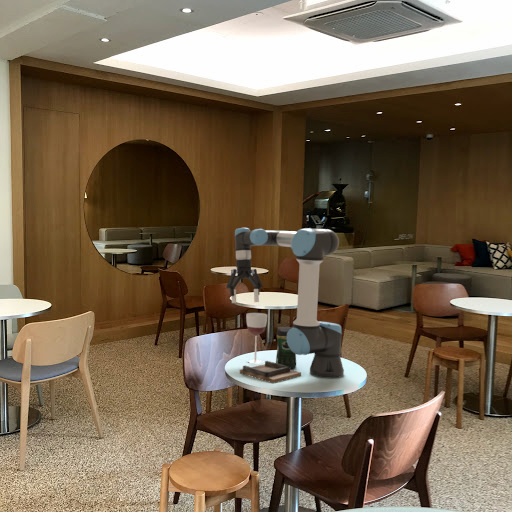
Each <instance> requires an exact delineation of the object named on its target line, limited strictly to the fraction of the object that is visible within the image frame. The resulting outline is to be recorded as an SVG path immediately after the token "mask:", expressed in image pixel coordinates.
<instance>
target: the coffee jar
mask: <svg viewBox="0 0 512 512" xmlns="http://www.w3.org/2000/svg"><path fill="white" fill-rule="evenodd" d="M292 328H293V326H291V327H290V326H283V327H281V326H280V327H277V330H276V331H277V332H276V340H277V346H276V347H277V349H276V355H275V356H276V357H275V363H277V364H281V365H285V366H289V367H290V369H294V368H296V367H297V354H295V353H293V352H292V351H291V349H290V348H289V346H288V343H287V333H288V332H289V330H290V329H292Z"/></svg>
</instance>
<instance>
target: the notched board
mask: <svg viewBox="0 0 512 512" xmlns="http://www.w3.org/2000/svg"><path fill="white" fill-rule="evenodd" d="M241 373H243V374H242V375H244V374H246V375H245V376H248V375H250V376H249V377H251V376H253V377H252V378H255V377H256V378H255V379H258V378H260V379H259V380H261V379H263V380H262V381H265V380H266V381H265V382H268V381H270V382H269V383H271V382H273V383H272V384H274V382H275V383H278V381H279V382H282V380H283V381H286V379H287V380H291V379H294V378H293V377H295V378H298V377H297V376H299V377H301V376H302V372H300V371H297V370H293V369H291V368H290V367H289V366H285V365H281V364H277V363H276V362H273V361H271V360H270V361H268V360H265V361H264V363H263V364H258V365H256V366H250V365H249V366H248V365H242V368H241V369H239V374H241ZM290 378H291V379H290Z"/></svg>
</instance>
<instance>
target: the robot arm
mask: <svg viewBox="0 0 512 512" xmlns="http://www.w3.org/2000/svg"><path fill="white" fill-rule="evenodd" d="M234 244H235V246H234V247H235V259H236V261H235V266H236V268H232V269H231V273H230V276H229V277H228V278H229V280H228V281H227V284H226V289H228V290H229V292H230V293H229V294H230V297H231V304H236V303H237V289H236V287H237V286H238V284H239V282H240V280H242V279H247V280H248V281H249V282H250V283H251V285H252V286H253V287H254V289H253V299H254V300H253V301H254V302H253V303H259V302H260V297H259V296H260V289H261V288H263V287H264V286H263V283H262V282H261V280H260V277H259V275H258V272H257V271H258V270H257V269H256V268H254V269H252V251H251V250H252V247H255V246H267V247H269V246H273V247H274V246H275V247H286V248H291V251H292V253H293V254H294V255H295V256H296V257H295V260H296V261H297V262H298V264H299V266H298V267H299V268H298V269H299V270H298V289H297V290H298V291H297V307H296V308H297V309H296V319H295V320H294V321H293V322H292V327H293V328H292V329H290V330H289V332H288V333H287V343H288V346H289V348H290V349H291V351H292V352H293V353H295V354H296V356H297V355H298V356H307V355H309V354H311V355H312V354H314V355H313V359H312V361H311V364H310V367H309V374H310V375H312V376H314V377H319V378H325V379H336V378H341V377H343V376H344V374H345V373H344V372H345V371H344V367H343V362H342V359H341V358H342V357H341V354H342V352H341V351H342V335H343V333H342V326H341V324H339V323H333V322H329V321H320V320H319V321H318V319H317V318H318V300H319V284H320V283H319V281H320V265H321V264H322V263H323V262H324V256H327V257H328V256H331V255H332V254H334V253H335V252H336V251H337V250H338V248H339V244H340V239H339V236H338V234H337V233H336V232H334V231H333V230H331V229H328V228H327V229H326V228H311V227H309V228H300V229H298V230H297V231H293V230H291V231H289V230H280V229H279V230H278V229H277V230H270V229H269V230H268V229H267V230H265V229H264V228H255V229H253V230H250V228H248V227H241V228H236V229H235V230H234Z"/></svg>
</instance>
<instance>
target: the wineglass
mask: <svg viewBox="0 0 512 512" xmlns="http://www.w3.org/2000/svg"><path fill="white" fill-rule="evenodd" d="M245 319H246V326H247V330H248V332H250V333H251V334H253V335H254V358H253V359H249V360H250V361H249V362H250V363H260V362H261V361H262V360H260V361H259V359H257V348H258V346H257V344H258V343H257V342H258V336H259V335H260V334H262V333H264V332H265V330H266V326H267V323H268V314H267V313H263V312H262V313H261V312H249V313H246V317H245Z"/></svg>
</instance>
